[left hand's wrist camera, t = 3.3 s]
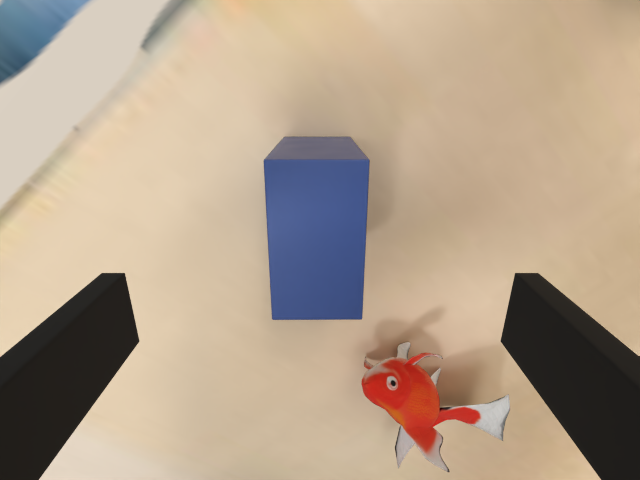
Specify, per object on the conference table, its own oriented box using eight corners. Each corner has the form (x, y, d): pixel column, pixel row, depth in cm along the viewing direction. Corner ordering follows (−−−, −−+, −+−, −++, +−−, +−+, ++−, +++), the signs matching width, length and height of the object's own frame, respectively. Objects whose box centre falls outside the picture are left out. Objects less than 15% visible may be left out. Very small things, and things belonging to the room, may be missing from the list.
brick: (347, 245, 31) (362, 320, 21) (287, 246, 31) (271, 320, 20) (350, 136, 28) (369, 159, 17) (283, 136, 28) (263, 159, 17)
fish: (462, 297, 27) (498, 455, 21) (510, 361, 37) (544, 480, 31) (336, 329, 32) (336, 464, 26) (409, 378, 42) (422, 483, 36)
